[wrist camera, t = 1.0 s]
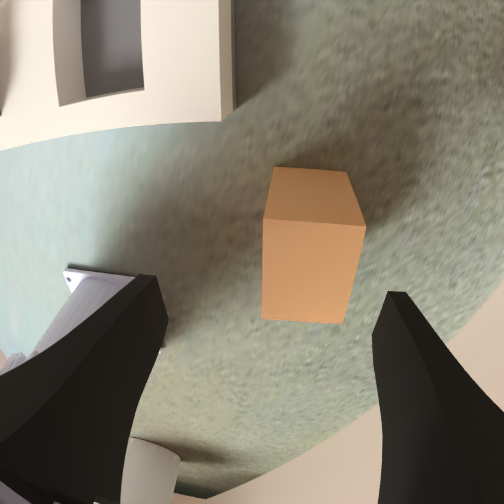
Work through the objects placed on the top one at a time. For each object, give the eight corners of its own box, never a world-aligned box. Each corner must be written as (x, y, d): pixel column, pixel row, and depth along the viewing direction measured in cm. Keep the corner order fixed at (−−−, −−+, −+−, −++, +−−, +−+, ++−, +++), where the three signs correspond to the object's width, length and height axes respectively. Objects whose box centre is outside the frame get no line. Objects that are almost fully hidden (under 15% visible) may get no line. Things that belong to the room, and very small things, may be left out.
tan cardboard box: (334, 252, 19) (342, 323, 14) (271, 248, 20) (261, 318, 15) (345, 171, 16) (366, 226, 11) (274, 166, 17) (263, 218, 12)
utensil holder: (113, 428, 50) (88, 498, 36) (182, 450, 50) (163, 525, 36) (126, 446, 59) (107, 505, 45) (184, 464, 59) (169, 526, 45)
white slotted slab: (234, -59, 9) (194, -118, 3) (236, 108, 15) (197, 143, 9) (-26, 42, 11) (-90, 62, 6) (-14, 146, 17) (-72, 184, 12)
